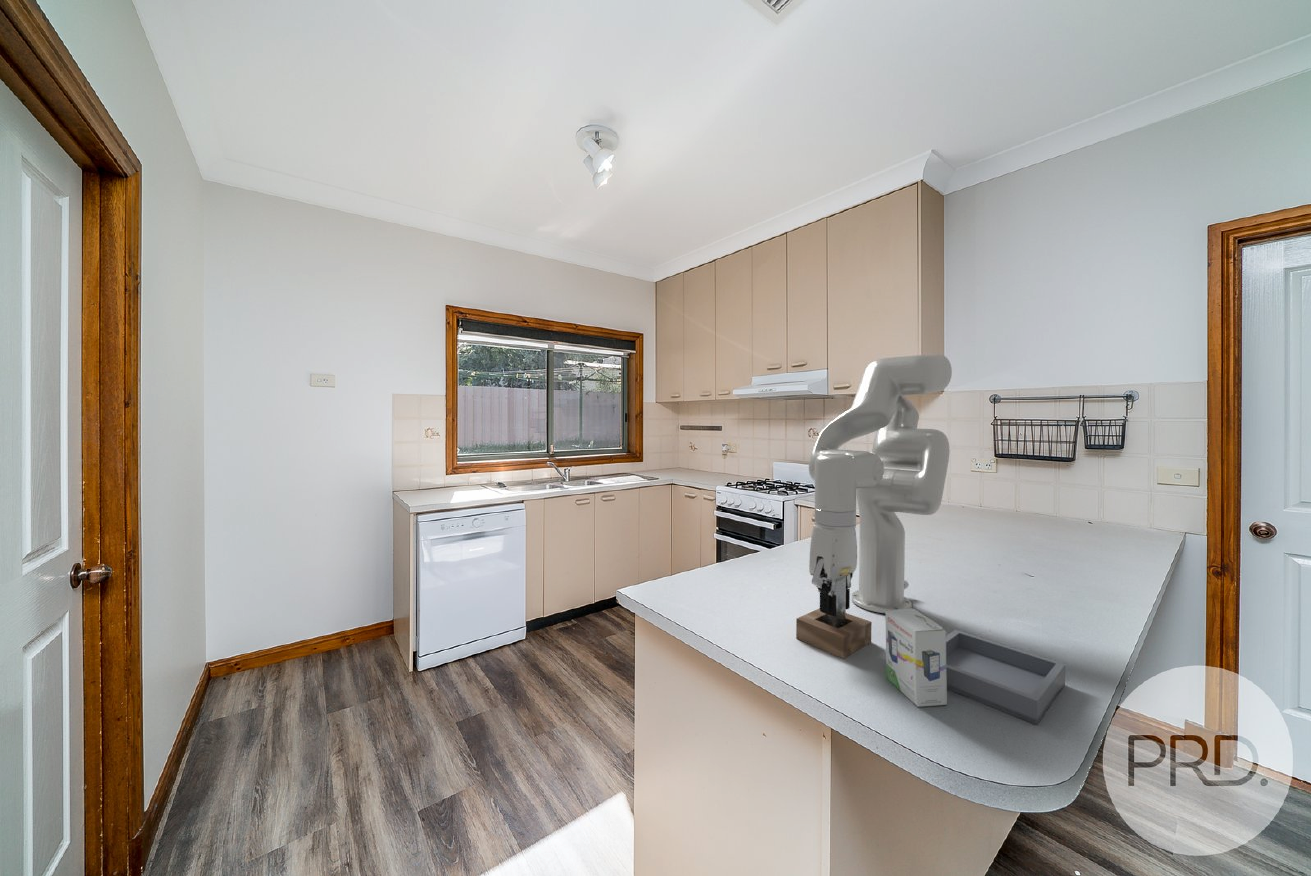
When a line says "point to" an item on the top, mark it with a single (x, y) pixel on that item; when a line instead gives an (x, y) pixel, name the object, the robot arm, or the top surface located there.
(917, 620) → the ink box
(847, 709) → the top surface
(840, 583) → the steel pin
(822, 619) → the block
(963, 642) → the tray
